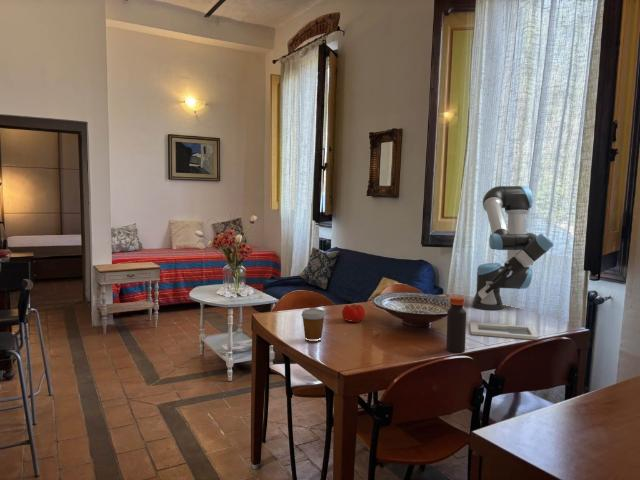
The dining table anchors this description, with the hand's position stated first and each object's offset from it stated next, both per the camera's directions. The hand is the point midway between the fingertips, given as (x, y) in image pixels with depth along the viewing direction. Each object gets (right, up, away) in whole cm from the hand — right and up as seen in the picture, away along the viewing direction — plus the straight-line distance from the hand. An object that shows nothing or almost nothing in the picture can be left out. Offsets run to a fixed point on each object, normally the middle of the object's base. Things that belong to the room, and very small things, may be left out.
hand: (480, 295), depth 213 cm
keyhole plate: (+4, -14, -15) cm, 21 cm away
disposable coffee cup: (-77, -15, -28) cm, 83 cm away
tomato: (-58, -12, +2) cm, 60 cm away
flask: (+4, -4, -1) cm, 5 cm away
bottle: (-23, -16, -39) cm, 48 cm away
